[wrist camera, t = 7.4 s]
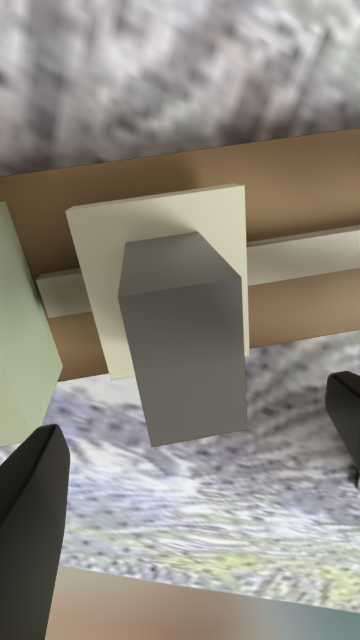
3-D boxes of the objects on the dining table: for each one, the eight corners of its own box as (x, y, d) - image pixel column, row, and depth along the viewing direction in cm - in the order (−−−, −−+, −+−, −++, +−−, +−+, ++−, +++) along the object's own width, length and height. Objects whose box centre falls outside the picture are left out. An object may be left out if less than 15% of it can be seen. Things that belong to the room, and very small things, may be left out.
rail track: (373, 314, 21) (401, 331, 19) (-25, 382, 20) (-46, 410, 18) (405, 122, 16) (448, 115, 14) (-122, 194, 15) (-167, 198, 13)
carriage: (235, 332, 18) (306, 451, 11) (114, 353, 18) (97, 491, 10) (228, 182, 15) (326, 199, 7) (76, 204, 14) (8, 247, 7)
